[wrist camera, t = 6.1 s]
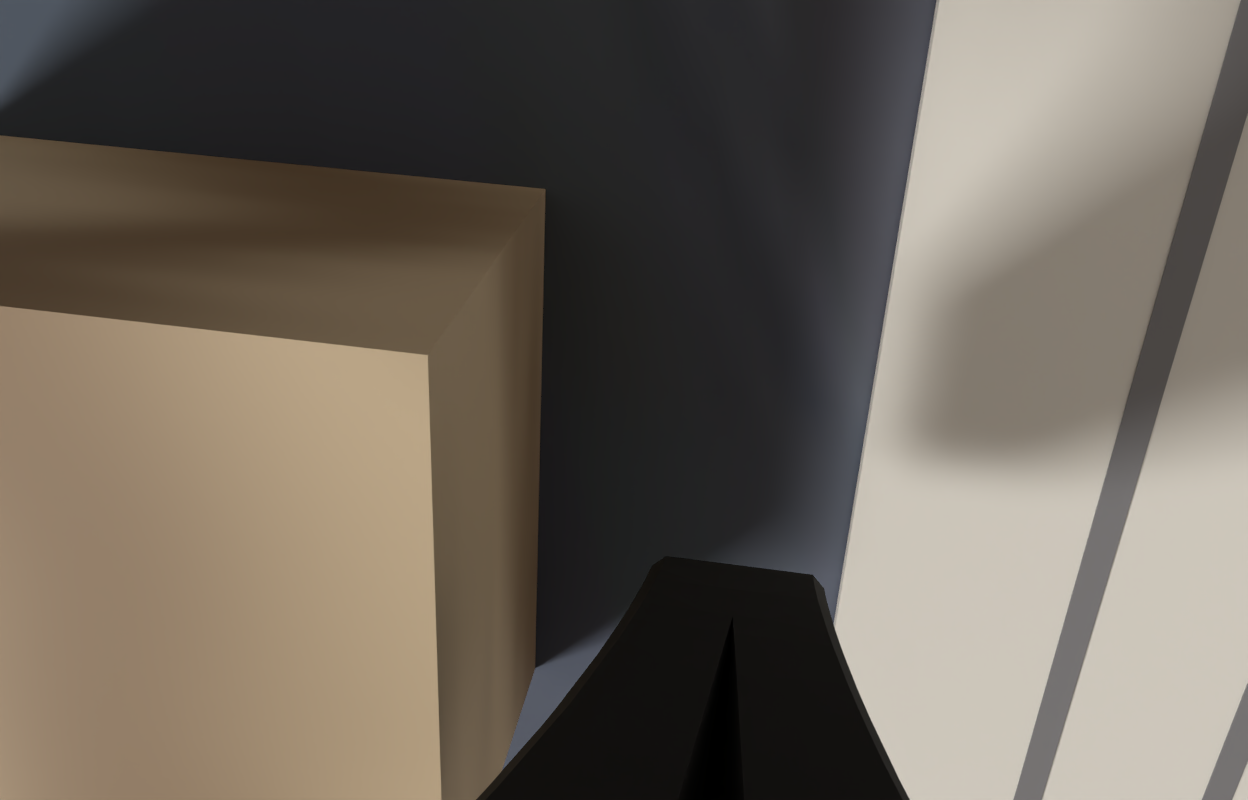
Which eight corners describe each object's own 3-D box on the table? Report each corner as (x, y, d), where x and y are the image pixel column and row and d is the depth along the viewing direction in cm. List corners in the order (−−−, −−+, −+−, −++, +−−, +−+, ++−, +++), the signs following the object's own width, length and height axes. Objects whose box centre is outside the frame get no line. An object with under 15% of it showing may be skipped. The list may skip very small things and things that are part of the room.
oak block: (549, 183, 11) (427, 355, 8) (538, 657, 14) (445, 942, 10) (-18, 128, 12) (-371, 264, 8) (81, 592, 15) (-153, 840, 11)
